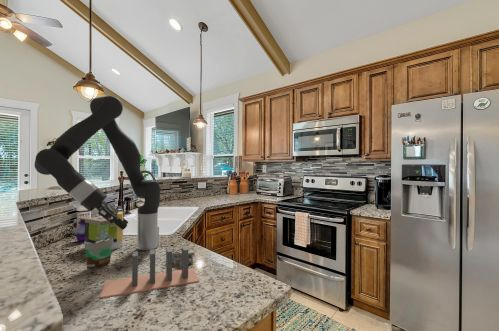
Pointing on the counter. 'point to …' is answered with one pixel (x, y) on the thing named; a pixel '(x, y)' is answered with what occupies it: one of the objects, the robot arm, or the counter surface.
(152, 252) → the charcoal domino
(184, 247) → the charcoal domino
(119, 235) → the ochre domino
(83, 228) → the potion bottle
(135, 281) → the charcoal domino
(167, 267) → the charcoal domino
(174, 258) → the egg carton
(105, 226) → the tea box
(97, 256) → the food container
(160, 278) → the terracotta mat
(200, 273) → the counter surface
